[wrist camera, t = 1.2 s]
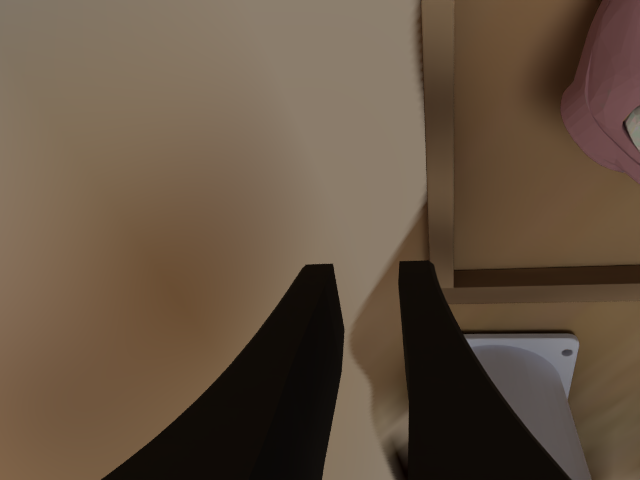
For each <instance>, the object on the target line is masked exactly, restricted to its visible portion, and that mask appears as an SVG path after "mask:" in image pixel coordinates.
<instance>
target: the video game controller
mask: <svg viewBox="0 0 640 480" xmlns="http://www.w3.org/2000/svg"><path fill="white" fill-rule="evenodd" d="M560 109H561V116H562V119H563V122H564V125H565V127H566V129H567V131H568V132H569V134H570V135H571V137H572V138H573V140H574V141H575V142H576V143H577V145H578V146H579V147H580V148H581V149H582V150H583V152H584V153H585V154H586V155H587V156H589V157H590V158H591V159H593V160H594V161H595V162H597V163H598V164H600V165H601V166H604V167H606V168H608V169H611V170H615V171H619V172H625V173H626V174H627V175H629V176H630V177H631V178H632V179H633V180H635V181H636V182H637V183H639V184H640V0H602V2H601V4H600V6H599V8H598V9H597V12H596V14H595V16H594V19H593V21H592V23H591V26H590V28H589V31H588V34H587V37H586V41H585V44H584V47H583V51H582V54H581V58H580V61H579V64H578V68H577V71H576V75H575V78H574V81H573V82H572V83H571V84H570V85H569V86H568V87H567V88H566V89H565V91H564V93H563V95H562V99H561V107H560Z"/></svg>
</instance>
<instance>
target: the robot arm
mask: <svg viewBox="0 0 640 480" xmlns="http://www.w3.org/2000/svg"><path fill="white" fill-rule="evenodd" d="M398 285H399V298H400V310H401V322H402V334H403V347H404V359H405V371H406V380H407V390H408V399H409V443H408V480H592V479H591V476H590V473H589V469H588V466H587V463H586V459H585V456H584V453H583V450H582V446H581V443H580V440H579V436H578V433H577V430H576V427H575V423H574V420H573V417H572V414H571V410H570V407H569V404H568V395H569V391H570V386H571V381H572V377H573V372H574V367H575V363H576V358H577V353H578V348H579V341H578V339H577V337H576V336H575V335H573V334H568V333H566V334H463V333H462V331H461V329H460V327H459V325H458V323H457V321H456V320H455V318H454V316H453V314H452V312H451V310H450V308H449V306H448V303H447V301H446V299H445V296H444V294H443V292H442V289H441V287H440V284H439V281H438V278H437V275H436V271H435V266H434V264H433V263H431V262H430V261H429V260H427V261H400V263H399V280H398ZM343 343H344V324H343V319H342V313H341V307H340V301H339V296H338V290H337V284H336V279H335V274H334V267H333V264H312V265H305V266H304V267H303V268H302V270H301V271H300V272H299V274H298V276H297V277H296V279H295V280H294V282H293V283H292V285H291V286H290V288H289V289H288V291H287V292H286V293H285V295H284V296H283V298H282V299H281V301H280V302H279V304H278V305H277V306H276V308H275V309H274V310H273V312H272V313H271V314H270V316H269V317H268V318H267V320H266V321H265V322H264V324H263V325H262V326H261V328H260V329H259V330H258V332H257V333H256V334H255V336H254V337H253V338H252V339H251V340H250V342H249V343H248V344H247V345H246V346H245V348H244V349H243V350H242V351H241V353H240V354H239V355H238V356H237V357H236V358H235V360H234V361H233V362H232V364H230V365H229V367H228V368H227V369H226V370H225V371H224V372H223V373H222V374H221V375H220V377H219V378H218V379H217V380H216V381H215V382H214V383H213V384H212V385H211V386H210V387H209V388H208V389H207V390H206V391H205V392H204V393H203V394H202V395H201V396H200V397H199V398H198V399H197V400H196V401H195V402H194V403H193V404H192V405H191V406H190V407H189V408H187V409H186V410H185V411H184V412H183V413H182V414H181V415H180V416H179V417H178V418H177V419H176V420H175V421H174V422H172V423H171V424H170V425H169V426H168V427H167V428H166V429H164V430H163V431H162V432H161V433H160V434H159V435H158V436H157V437H155V438H154V439H153V440H152V441H151V442H149V443H148V444H147V445H146V446H144V447H143V448H142V449H140V450H139V451H138V452H137V453H136V454H134V455H133V456H132V457H130V458H129V459H128V460H126V461H125V462H124V463H123V464H121V465H120V466H119V467H118V468H116V469H115V470H114V471H112V472H111V473H109V474H108V475H107V476H106V477H104V478H103V479H101V480H322V476H323V469H324V462H325V457H326V452H327V447H328V441H329V436H330V431H331V426H332V420H333V415H334V409H335V405H336V399H337V394H338V389H339V383H340V378H341V372H342V359H343V345H344V344H343ZM566 349H568V350H566Z"/></svg>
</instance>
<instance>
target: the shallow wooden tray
mask: <svg viewBox="0 0 640 480" xmlns="http://www.w3.org/2000/svg"><path fill="white" fill-rule="evenodd" d="M421 21H422V52H423V82H424V112H425V142H426V172H427V202H428V233H429V261H430V262H431V263H433V264H434V266H435V271H436V275H437V278H438V281H439V284H440V287H441V289H442V292H443V294H444V296H445V299H446V301H447V303H448V304H492V303H549V302H607V301H640V265H629V266H595V267H562V268H529V269H496V270H462V271H454V0H421Z"/></svg>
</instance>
